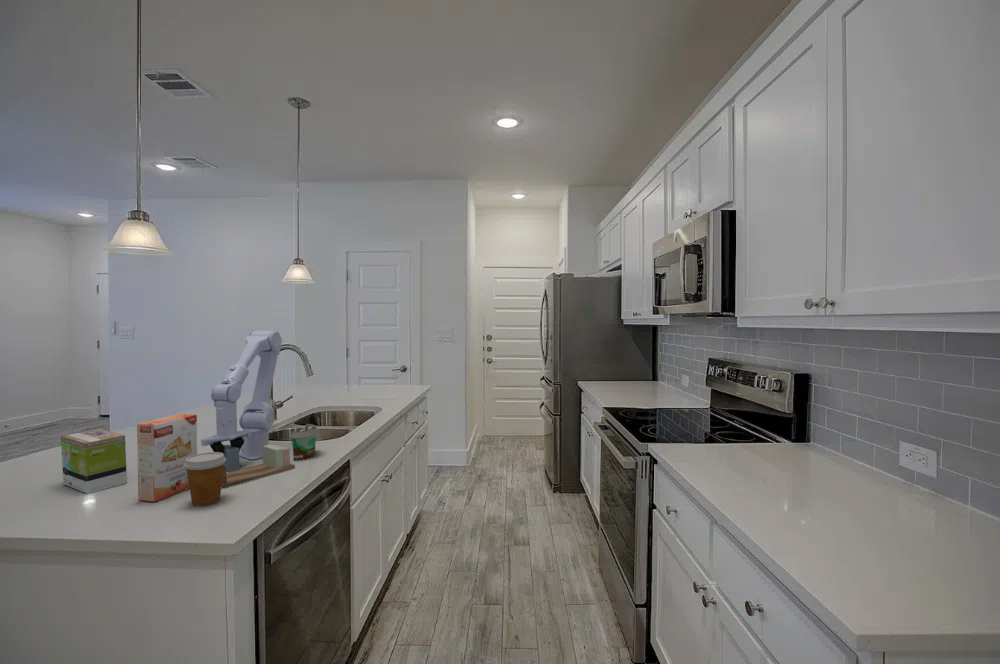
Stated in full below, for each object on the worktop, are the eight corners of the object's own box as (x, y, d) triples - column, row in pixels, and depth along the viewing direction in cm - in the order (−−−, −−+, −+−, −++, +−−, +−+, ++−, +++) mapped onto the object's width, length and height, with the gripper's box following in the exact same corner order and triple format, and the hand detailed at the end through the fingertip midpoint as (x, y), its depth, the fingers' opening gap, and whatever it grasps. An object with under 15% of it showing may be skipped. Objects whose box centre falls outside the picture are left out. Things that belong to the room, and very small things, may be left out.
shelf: (206, 481, 142) (206, 461, 142) (277, 462, 160) (277, 444, 160) (223, 488, 137) (222, 467, 136) (294, 468, 154) (294, 449, 154)
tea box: (61, 485, 139) (59, 435, 138) (102, 475, 148) (101, 427, 147) (86, 495, 132) (84, 441, 131) (128, 483, 141) (126, 433, 140)
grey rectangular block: (216, 468, 154) (215, 446, 154) (227, 465, 157) (226, 444, 157) (228, 473, 150) (227, 451, 149) (239, 470, 153) (239, 448, 152)
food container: (309, 461, 161) (309, 432, 161) (291, 461, 161) (291, 432, 161) (324, 451, 173) (323, 423, 173) (307, 451, 173) (306, 423, 173)
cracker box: (156, 503, 126) (153, 424, 125) (137, 501, 127) (134, 423, 127) (199, 484, 140) (197, 413, 139) (182, 483, 141) (180, 412, 140)
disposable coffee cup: (235, 496, 131) (234, 453, 130) (204, 510, 121) (203, 463, 121) (207, 493, 133) (206, 450, 133) (175, 506, 124) (174, 460, 124)
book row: (263, 464, 155) (262, 446, 155) (276, 460, 159) (276, 442, 159) (276, 469, 151) (276, 450, 150) (290, 465, 154) (289, 446, 154)
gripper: (208, 427, 145) (209, 471, 145) (255, 418, 156) (256, 459, 157) (197, 424, 149) (198, 467, 149) (244, 415, 160) (245, 456, 161)
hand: (227, 463), depth 153 cm, fingers closed on grey rectangular block, 3 cm apart
